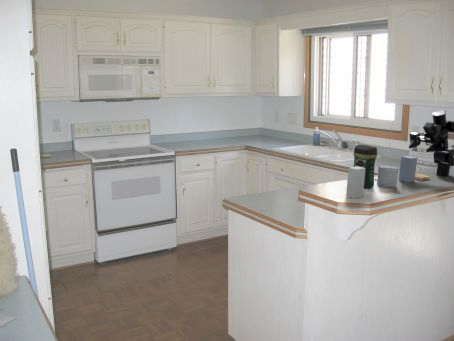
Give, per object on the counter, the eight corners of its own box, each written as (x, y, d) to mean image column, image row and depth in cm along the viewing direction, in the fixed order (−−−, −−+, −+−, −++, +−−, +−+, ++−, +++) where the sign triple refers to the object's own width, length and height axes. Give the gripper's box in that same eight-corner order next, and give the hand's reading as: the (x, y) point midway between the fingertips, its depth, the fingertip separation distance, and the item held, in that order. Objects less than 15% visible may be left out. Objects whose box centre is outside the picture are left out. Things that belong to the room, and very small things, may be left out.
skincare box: (354, 194, 204) (357, 165, 201) (362, 196, 201) (366, 167, 198) (345, 196, 200) (348, 167, 197) (354, 198, 197) (357, 169, 194)
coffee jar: (376, 187, 216) (381, 146, 212) (366, 190, 211) (371, 147, 207) (357, 183, 223) (361, 142, 219) (347, 185, 217) (351, 144, 213)
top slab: (416, 176, 240) (417, 173, 239) (429, 179, 234) (430, 176, 234) (408, 177, 236) (408, 174, 235) (421, 181, 230) (421, 178, 230)
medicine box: (394, 185, 222) (396, 166, 220) (396, 187, 218) (398, 168, 216) (376, 184, 223) (378, 165, 221) (378, 186, 219) (380, 167, 217)
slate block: (404, 180, 233) (407, 155, 230) (414, 182, 229) (417, 157, 226) (398, 181, 230) (401, 156, 227) (407, 184, 226) (411, 158, 223)
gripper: (418, 117, 239) (398, 130, 233) (454, 122, 225) (434, 137, 218) (420, 137, 244) (401, 151, 237) (456, 143, 229) (436, 158, 223)
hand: (417, 149), depth 229 cm, fingers open, 9 cm apart
